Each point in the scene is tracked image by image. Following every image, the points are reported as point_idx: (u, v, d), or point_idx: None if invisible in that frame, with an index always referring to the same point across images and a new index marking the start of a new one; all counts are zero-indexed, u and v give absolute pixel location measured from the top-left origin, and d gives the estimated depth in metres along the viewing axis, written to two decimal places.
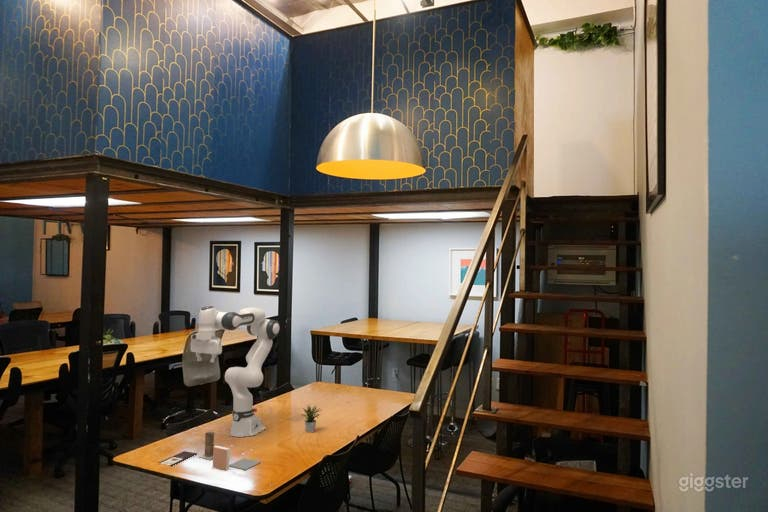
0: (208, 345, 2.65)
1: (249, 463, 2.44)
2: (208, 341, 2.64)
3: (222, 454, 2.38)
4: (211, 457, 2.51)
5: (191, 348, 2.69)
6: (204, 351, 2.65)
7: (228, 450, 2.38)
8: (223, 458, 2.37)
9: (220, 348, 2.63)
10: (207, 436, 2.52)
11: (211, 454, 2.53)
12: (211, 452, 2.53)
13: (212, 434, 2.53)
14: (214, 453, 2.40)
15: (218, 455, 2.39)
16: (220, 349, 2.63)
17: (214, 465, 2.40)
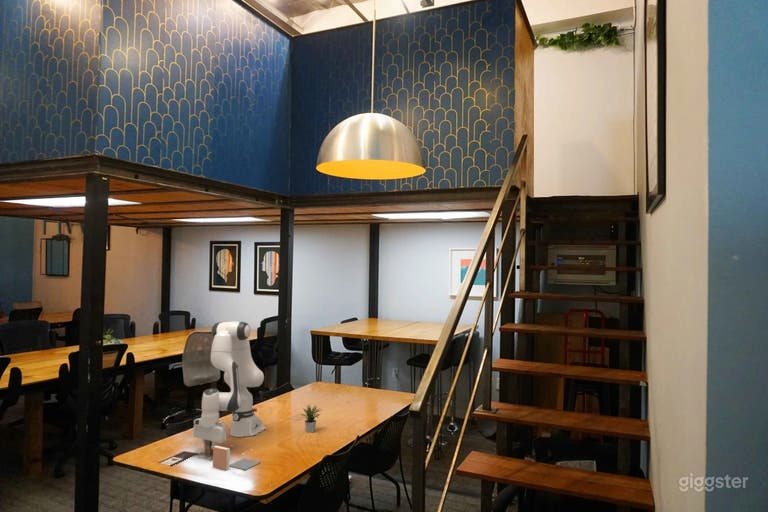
0: (212, 432, 2.51)
1: (249, 463, 2.44)
2: (212, 428, 2.51)
3: (222, 454, 2.38)
4: (211, 457, 2.51)
5: (194, 433, 2.56)
6: (207, 438, 2.52)
7: (228, 450, 2.38)
8: (223, 458, 2.37)
9: (224, 435, 2.50)
10: None
11: (211, 454, 2.53)
12: (211, 452, 2.53)
13: None
14: (214, 453, 2.40)
15: (218, 455, 2.39)
16: (224, 436, 2.50)
17: (214, 465, 2.40)
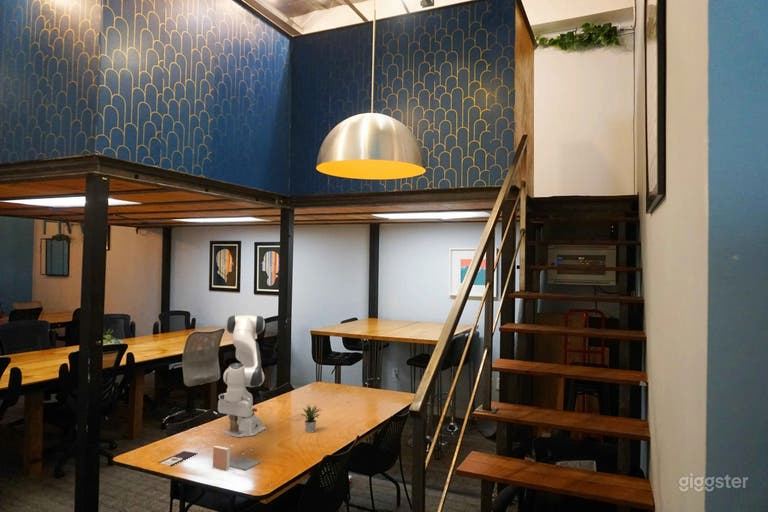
0: (237, 406, 2.46)
1: (249, 463, 2.44)
2: (238, 402, 2.45)
3: (222, 454, 2.38)
4: (237, 432, 2.45)
5: (219, 408, 2.51)
6: (233, 413, 2.46)
7: (228, 450, 2.38)
8: (223, 458, 2.37)
9: (251, 410, 2.44)
10: None
11: (236, 430, 2.47)
12: (236, 427, 2.47)
13: None
14: (214, 453, 2.40)
15: (218, 455, 2.39)
16: (251, 411, 2.44)
17: (214, 465, 2.40)
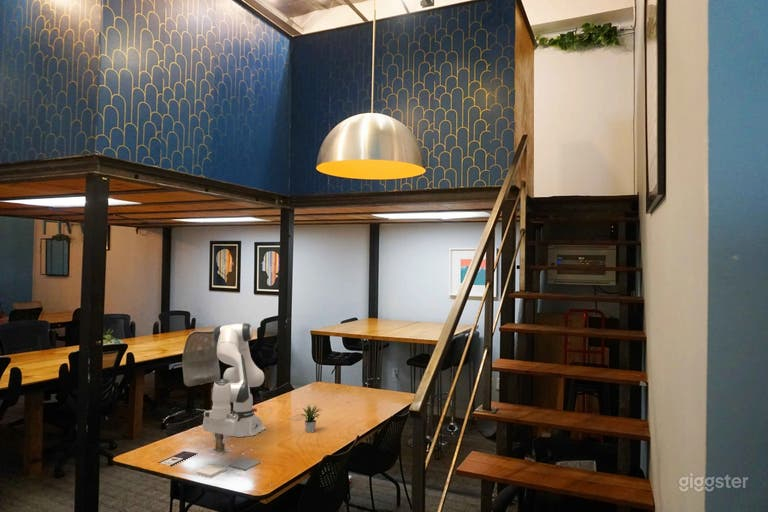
0: (223, 424, 2.36)
1: (249, 463, 2.44)
2: (223, 420, 2.36)
3: None
4: (222, 451, 2.36)
5: (204, 426, 2.41)
6: (218, 431, 2.37)
7: (211, 476, 2.28)
8: None
9: (237, 428, 2.35)
10: None
11: (222, 448, 2.38)
12: (222, 446, 2.38)
13: None
14: None
15: None
16: (237, 429, 2.35)
17: None
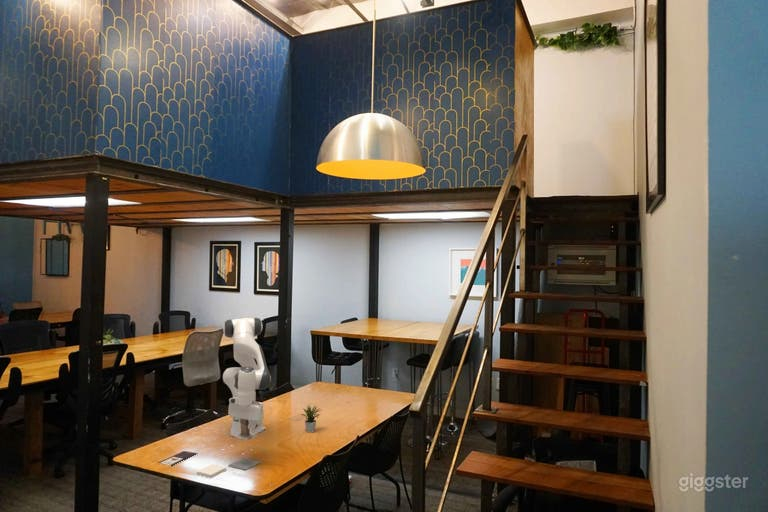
0: (248, 410, 2.43)
1: (249, 463, 2.44)
2: (249, 406, 2.42)
3: None
4: (248, 437, 2.42)
5: (229, 412, 2.47)
6: (244, 417, 2.43)
7: (211, 476, 2.28)
8: None
9: (262, 414, 2.41)
10: None
11: (247, 434, 2.44)
12: (247, 432, 2.44)
13: None
14: None
15: None
16: (262, 415, 2.41)
17: None
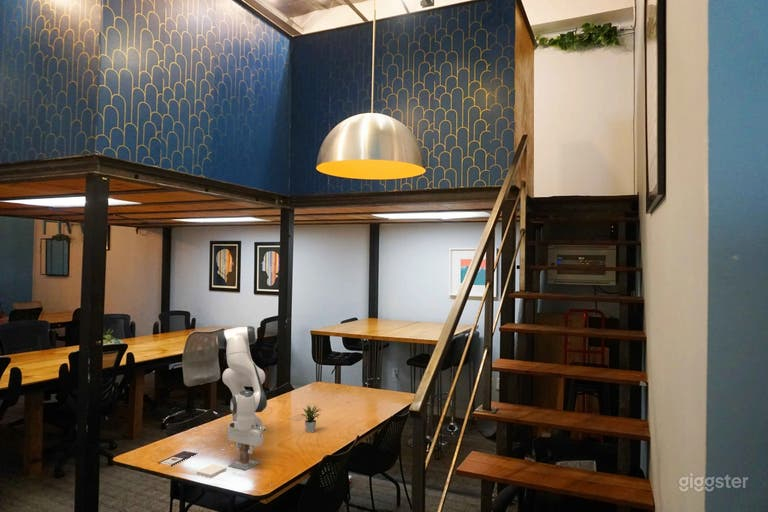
0: (248, 435, 2.42)
1: None
2: (248, 431, 2.42)
3: None
4: (247, 463, 2.42)
5: (228, 437, 2.47)
6: (243, 441, 2.43)
7: (211, 476, 2.28)
8: None
9: (261, 439, 2.41)
10: None
11: (247, 460, 2.44)
12: (247, 458, 2.44)
13: None
14: None
15: None
16: (261, 440, 2.41)
17: None
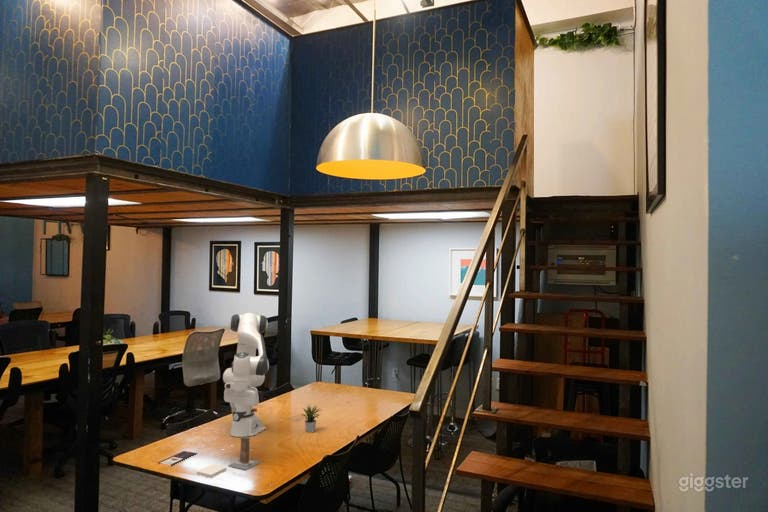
0: (244, 395, 2.46)
1: None
2: (244, 391, 2.46)
3: None
4: (247, 463, 2.42)
5: (225, 398, 2.51)
6: (239, 402, 2.47)
7: (211, 476, 2.28)
8: None
9: (257, 399, 2.45)
10: (243, 441, 2.43)
11: (247, 460, 2.44)
12: (247, 458, 2.44)
13: (248, 439, 2.44)
14: None
15: None
16: (257, 400, 2.45)
17: None
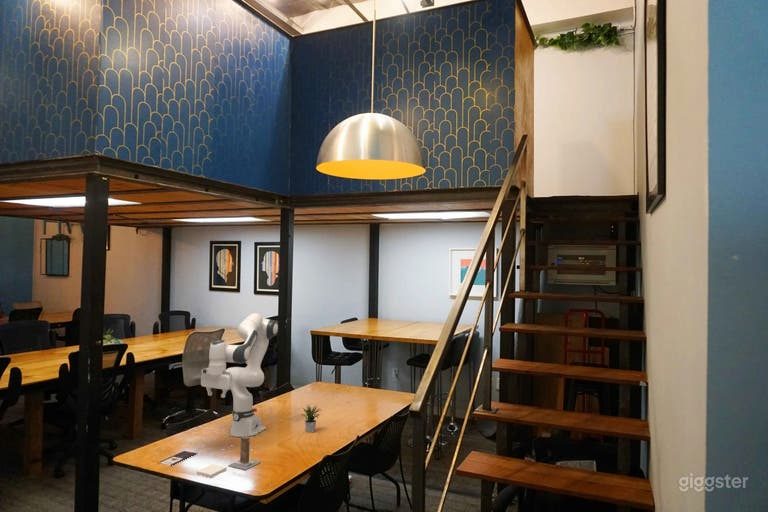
0: (219, 380, 2.61)
1: None
2: (219, 376, 2.61)
3: None
4: (247, 463, 2.42)
5: (201, 382, 2.66)
6: (215, 386, 2.62)
7: (211, 476, 2.28)
8: None
9: (231, 383, 2.60)
10: (243, 441, 2.43)
11: (247, 460, 2.44)
12: (247, 458, 2.44)
13: (248, 439, 2.44)
14: None
15: None
16: (231, 384, 2.60)
17: None
